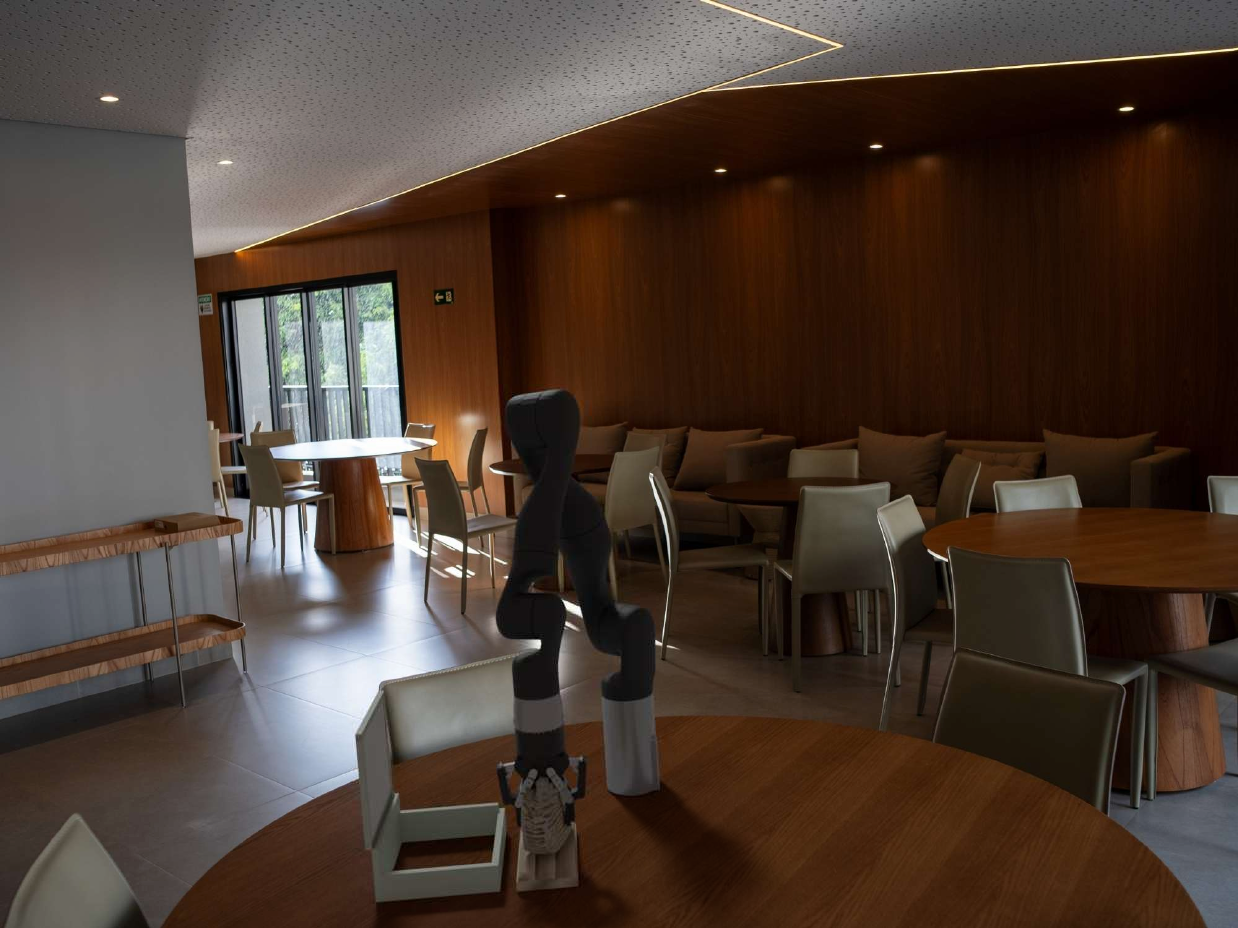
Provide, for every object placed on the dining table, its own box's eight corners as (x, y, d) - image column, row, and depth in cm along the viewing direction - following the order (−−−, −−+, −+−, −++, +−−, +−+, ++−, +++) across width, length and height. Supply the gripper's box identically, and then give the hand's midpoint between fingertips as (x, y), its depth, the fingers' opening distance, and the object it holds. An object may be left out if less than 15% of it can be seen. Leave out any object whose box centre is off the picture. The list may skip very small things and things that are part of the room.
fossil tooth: (579, 829, 161) (552, 868, 147) (542, 824, 163) (511, 862, 148) (581, 758, 161) (554, 790, 146) (543, 755, 163) (513, 786, 148)
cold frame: (506, 830, 166) (495, 681, 163) (500, 891, 147) (487, 723, 144) (391, 840, 165) (378, 690, 162) (370, 902, 146) (355, 734, 143)
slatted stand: (576, 831, 164) (575, 819, 164) (578, 886, 147) (577, 872, 147) (521, 836, 163) (520, 824, 163) (517, 891, 146) (516, 877, 146)
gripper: (585, 708, 157) (591, 810, 159) (493, 716, 156) (500, 818, 158) (586, 726, 150) (593, 833, 151) (489, 734, 149) (498, 841, 151)
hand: (546, 825), depth 155 cm, fingers closed on fossil tooth, 6 cm apart
